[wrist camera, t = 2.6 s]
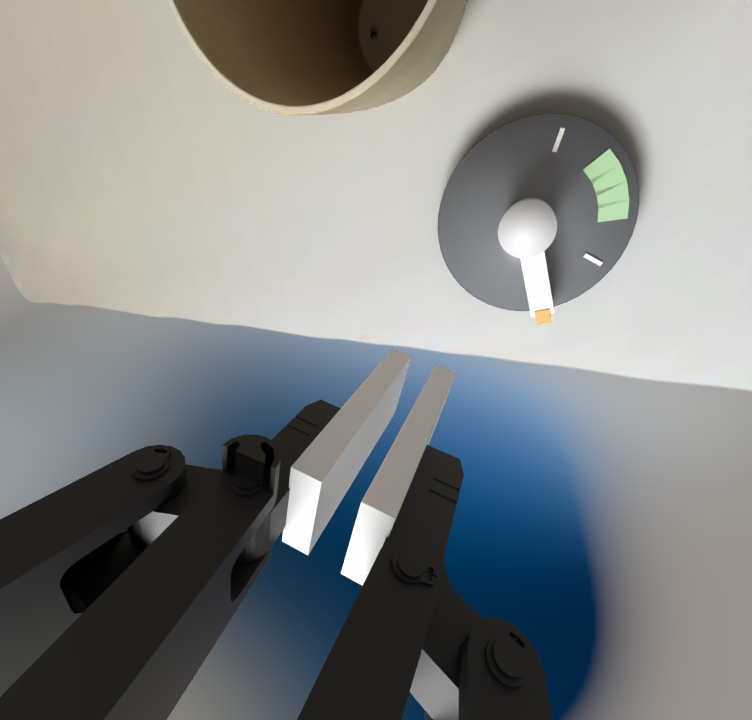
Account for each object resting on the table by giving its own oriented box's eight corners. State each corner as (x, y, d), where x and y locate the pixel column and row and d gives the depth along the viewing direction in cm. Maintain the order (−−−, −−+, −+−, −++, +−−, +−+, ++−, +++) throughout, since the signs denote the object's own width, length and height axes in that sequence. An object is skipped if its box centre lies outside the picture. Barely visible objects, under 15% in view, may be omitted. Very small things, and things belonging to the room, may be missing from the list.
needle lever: (498, 206, 28) (492, 211, 24) (550, 190, 26) (552, 192, 22) (520, 315, 30) (517, 334, 27) (567, 306, 29) (572, 325, 25)
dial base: (675, 135, 24) (686, 132, 22) (580, 324, 31) (582, 333, 29) (470, 103, 28) (465, 98, 26) (426, 279, 35) (420, 285, 33)
